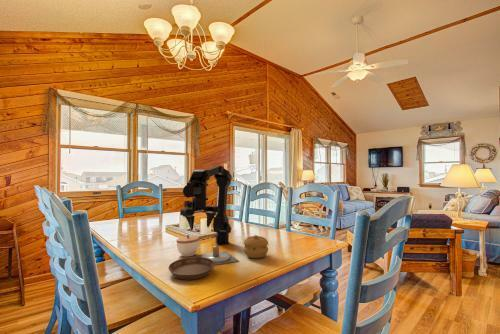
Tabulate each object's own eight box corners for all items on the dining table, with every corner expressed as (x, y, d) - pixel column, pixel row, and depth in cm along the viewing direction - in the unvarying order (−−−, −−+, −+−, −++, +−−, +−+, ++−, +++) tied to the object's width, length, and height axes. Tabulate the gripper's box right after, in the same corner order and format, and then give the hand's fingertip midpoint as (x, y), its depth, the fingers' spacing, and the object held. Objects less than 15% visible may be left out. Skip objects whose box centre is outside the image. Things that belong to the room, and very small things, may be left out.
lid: (224, 252, 129) (224, 241, 129) (234, 260, 117) (234, 247, 117) (198, 255, 123) (198, 244, 123) (206, 264, 111) (206, 251, 111)
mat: (226, 251, 131) (226, 251, 131) (238, 261, 116) (238, 260, 116) (194, 256, 123) (194, 255, 123) (203, 267, 109) (203, 266, 109)
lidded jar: (194, 258, 119) (193, 237, 119) (172, 257, 121) (172, 237, 121) (203, 251, 129) (202, 232, 130) (183, 251, 132) (182, 232, 132)
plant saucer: (218, 278, 97) (217, 270, 97) (168, 285, 92) (168, 276, 92) (211, 262, 114) (211, 255, 114) (168, 266, 109) (168, 259, 109)
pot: (240, 254, 127) (240, 233, 127) (262, 251, 131) (262, 231, 131) (248, 262, 116) (248, 239, 116) (272, 259, 120) (272, 237, 120)
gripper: (206, 193, 137) (206, 223, 137) (174, 195, 124) (173, 229, 124) (219, 195, 129) (219, 226, 129) (186, 197, 116) (186, 232, 116)
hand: (200, 228), depth 125 cm, fingers open, 9 cm apart
